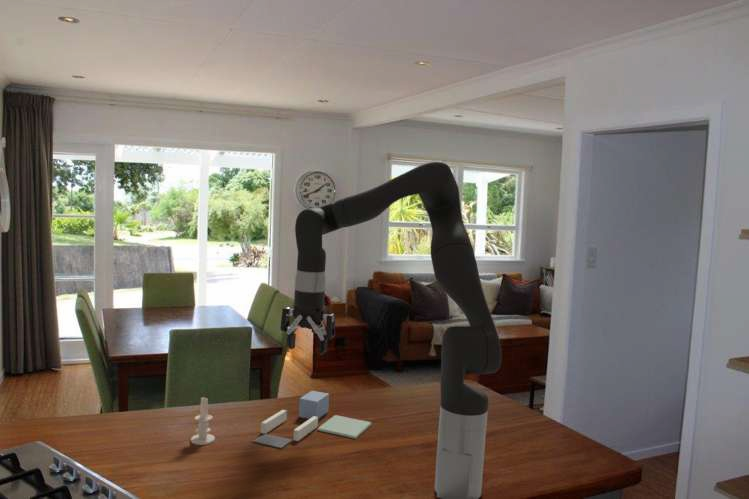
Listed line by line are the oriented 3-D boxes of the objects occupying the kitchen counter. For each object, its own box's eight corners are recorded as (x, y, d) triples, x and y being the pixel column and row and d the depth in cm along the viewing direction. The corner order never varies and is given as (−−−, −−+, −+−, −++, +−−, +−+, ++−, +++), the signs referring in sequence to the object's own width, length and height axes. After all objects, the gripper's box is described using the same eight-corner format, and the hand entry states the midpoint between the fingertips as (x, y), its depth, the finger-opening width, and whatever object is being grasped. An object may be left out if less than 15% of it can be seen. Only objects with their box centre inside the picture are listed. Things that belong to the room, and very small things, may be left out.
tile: (355, 438, 144) (355, 436, 144) (317, 430, 148) (317, 428, 148) (371, 424, 153) (371, 422, 153) (335, 417, 157) (335, 414, 157)
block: (316, 420, 154) (317, 401, 154) (298, 417, 156) (299, 398, 155) (328, 412, 161) (329, 393, 160) (311, 408, 162) (312, 390, 162)
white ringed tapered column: (204, 433, 142) (205, 390, 141) (219, 440, 139) (221, 395, 138) (185, 440, 137) (187, 395, 136) (201, 447, 134) (202, 401, 133)
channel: (286, 450, 135) (286, 439, 135) (248, 441, 139) (248, 430, 139) (317, 426, 150) (318, 416, 150) (282, 419, 153) (282, 409, 153)
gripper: (342, 289, 153) (338, 352, 155) (292, 282, 158) (289, 343, 160) (328, 294, 146) (324, 360, 148) (277, 286, 151) (274, 350, 153)
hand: (306, 351), depth 154 cm, fingers open, 8 cm apart
